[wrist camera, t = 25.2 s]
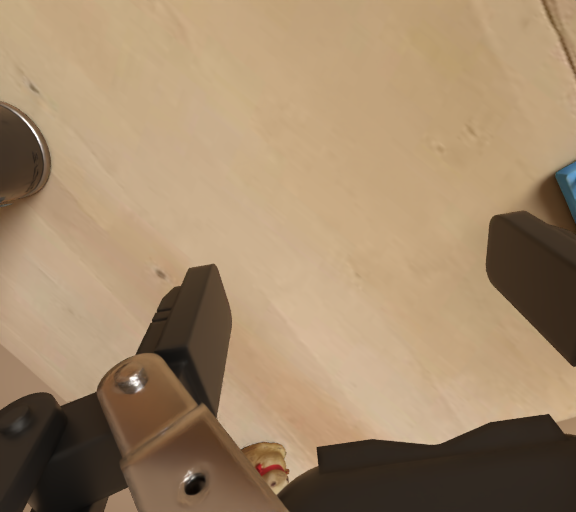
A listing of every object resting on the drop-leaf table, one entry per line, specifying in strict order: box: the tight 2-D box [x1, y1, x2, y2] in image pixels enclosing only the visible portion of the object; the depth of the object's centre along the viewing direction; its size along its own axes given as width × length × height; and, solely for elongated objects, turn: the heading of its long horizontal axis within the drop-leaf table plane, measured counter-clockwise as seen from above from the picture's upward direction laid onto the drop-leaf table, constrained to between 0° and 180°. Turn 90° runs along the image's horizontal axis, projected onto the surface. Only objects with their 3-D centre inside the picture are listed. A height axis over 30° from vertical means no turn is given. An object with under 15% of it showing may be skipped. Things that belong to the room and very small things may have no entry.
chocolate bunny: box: [241, 442, 289, 495], centre depth 46 cm, size 6×8×10 cm
